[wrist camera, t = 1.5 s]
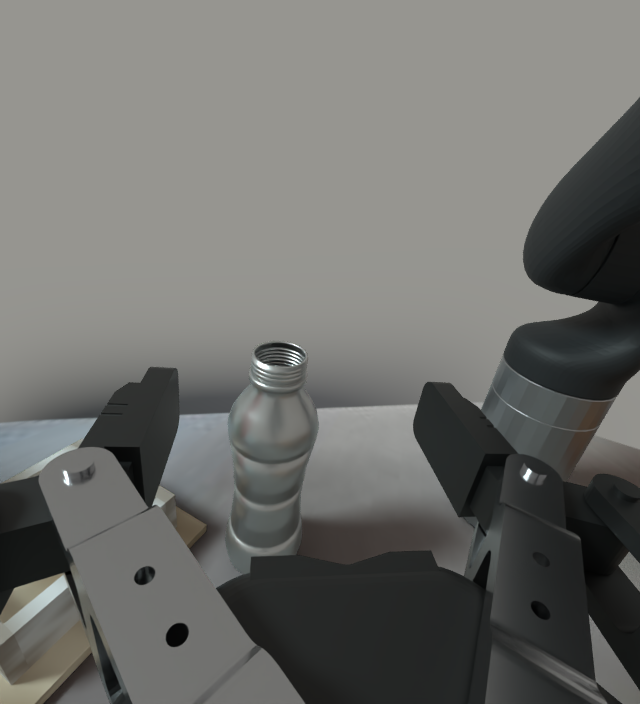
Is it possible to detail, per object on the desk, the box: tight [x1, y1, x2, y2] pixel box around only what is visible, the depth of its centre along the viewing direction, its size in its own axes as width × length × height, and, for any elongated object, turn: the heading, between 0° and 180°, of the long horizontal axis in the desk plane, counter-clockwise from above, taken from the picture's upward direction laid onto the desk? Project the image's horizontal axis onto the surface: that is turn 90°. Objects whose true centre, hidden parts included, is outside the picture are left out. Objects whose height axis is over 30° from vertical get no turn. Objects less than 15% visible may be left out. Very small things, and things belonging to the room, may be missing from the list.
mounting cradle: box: [0, 439, 206, 704], centre depth 29 cm, size 16×16×5 cm
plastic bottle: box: [225, 341, 319, 575], centre depth 28 cm, size 6×7×20 cm
